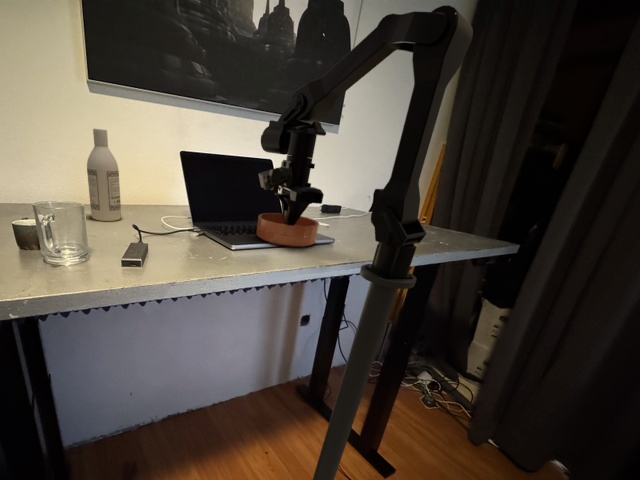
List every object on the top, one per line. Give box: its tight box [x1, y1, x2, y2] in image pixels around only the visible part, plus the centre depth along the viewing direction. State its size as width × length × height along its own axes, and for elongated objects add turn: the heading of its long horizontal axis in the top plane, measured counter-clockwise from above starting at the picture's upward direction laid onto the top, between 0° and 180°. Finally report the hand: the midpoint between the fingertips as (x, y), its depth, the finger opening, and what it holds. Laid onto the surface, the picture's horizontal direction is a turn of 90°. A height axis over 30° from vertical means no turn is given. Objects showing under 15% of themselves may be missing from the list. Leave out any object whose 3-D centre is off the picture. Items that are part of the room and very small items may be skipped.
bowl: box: [255, 212, 320, 248], centre depth 79 cm, size 15×15×5 cm
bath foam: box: [86, 128, 122, 222], centre depth 77 cm, size 7×7×20 cm
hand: (287, 226), depth 79 cm, fingers closed on scrub brush, 2 cm apart
